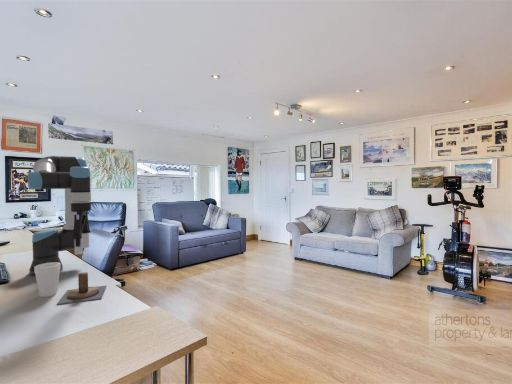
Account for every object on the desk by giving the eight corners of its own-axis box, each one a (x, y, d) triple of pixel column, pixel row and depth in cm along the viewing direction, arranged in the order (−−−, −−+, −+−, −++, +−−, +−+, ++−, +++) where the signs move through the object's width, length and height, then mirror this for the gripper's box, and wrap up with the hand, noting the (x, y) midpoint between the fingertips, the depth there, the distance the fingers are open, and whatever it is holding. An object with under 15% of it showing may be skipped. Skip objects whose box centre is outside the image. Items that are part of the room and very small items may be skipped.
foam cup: (47, 299, 122) (46, 268, 122) (29, 297, 124) (28, 267, 123) (66, 290, 131) (65, 262, 131) (49, 289, 133) (48, 261, 133)
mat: (67, 291, 131) (67, 290, 131) (106, 286, 137) (106, 285, 137) (56, 305, 116) (56, 303, 116) (101, 299, 122) (101, 298, 122)
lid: (71, 290, 130) (70, 271, 129) (101, 287, 134) (100, 268, 134) (63, 301, 119) (63, 279, 118) (96, 297, 123) (96, 276, 122)
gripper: (77, 201, 135) (79, 245, 136) (62, 204, 112) (64, 258, 113) (95, 200, 138) (96, 244, 139) (84, 203, 115) (86, 256, 115)
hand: (82, 250), depth 126 cm, fingers open, 13 cm apart
